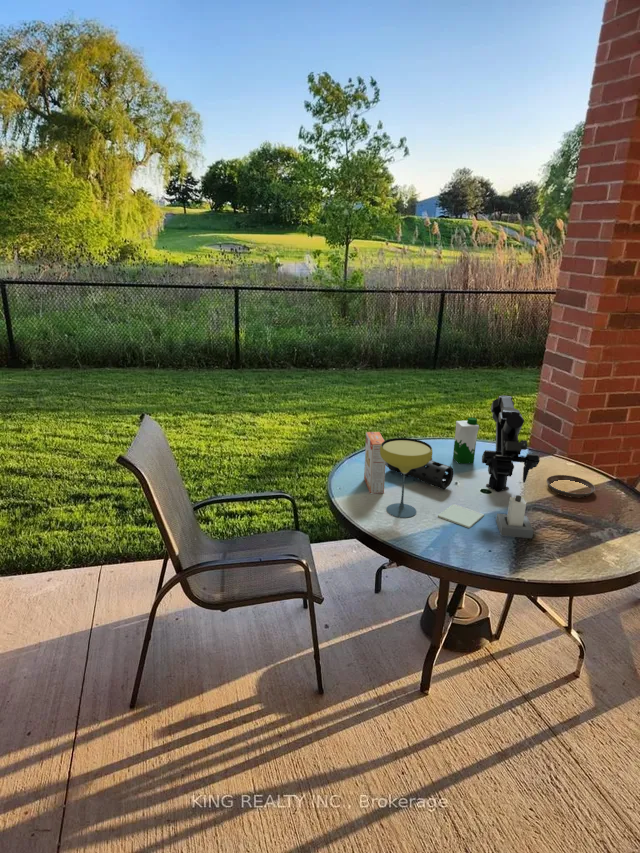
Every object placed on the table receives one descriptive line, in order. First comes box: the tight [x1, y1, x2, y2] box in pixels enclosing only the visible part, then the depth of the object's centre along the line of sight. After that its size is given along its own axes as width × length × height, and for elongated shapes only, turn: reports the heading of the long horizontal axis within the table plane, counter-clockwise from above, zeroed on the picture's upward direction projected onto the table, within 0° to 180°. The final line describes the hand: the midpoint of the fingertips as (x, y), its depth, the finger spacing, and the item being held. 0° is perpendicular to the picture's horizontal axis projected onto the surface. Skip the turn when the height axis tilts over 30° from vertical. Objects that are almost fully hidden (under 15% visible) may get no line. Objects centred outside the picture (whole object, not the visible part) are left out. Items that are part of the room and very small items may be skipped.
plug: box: [506, 494, 527, 527], centre depth 176 cm, size 4×4×12 cm
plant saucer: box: [546, 474, 596, 498], centre depth 209 cm, size 18×18×3 cm
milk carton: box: [452, 416, 480, 465], centre depth 233 cm, size 9×9×20 cm
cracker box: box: [363, 431, 386, 494], centre depth 205 cm, size 14×6×21 cm, turn 5°
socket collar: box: [495, 512, 534, 539], centre depth 177 cm, size 10×10×3 cm
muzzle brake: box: [385, 459, 455, 490], centre depth 214 cm, size 10×28×10 cm, turn 46°
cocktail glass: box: [380, 437, 433, 519], centre depth 185 cm, size 18×18×25 cm
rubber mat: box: [437, 503, 485, 529], centre depth 186 cm, size 12×12×1 cm
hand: (510, 481), depth 182 cm, fingers open, 9 cm apart
